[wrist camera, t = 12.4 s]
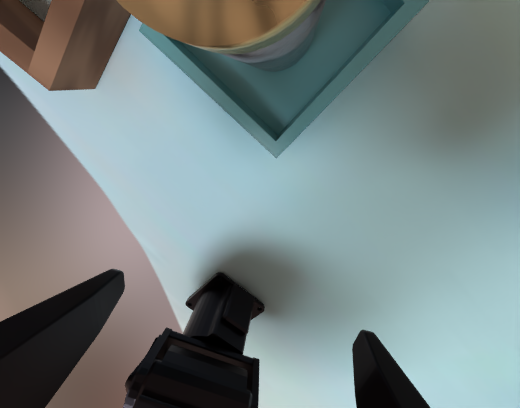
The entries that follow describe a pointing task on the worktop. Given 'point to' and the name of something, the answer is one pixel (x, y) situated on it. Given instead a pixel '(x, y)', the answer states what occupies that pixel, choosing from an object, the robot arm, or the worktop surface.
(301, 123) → the teal tray
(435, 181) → the worktop surface
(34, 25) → the brown square frame
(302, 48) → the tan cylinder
